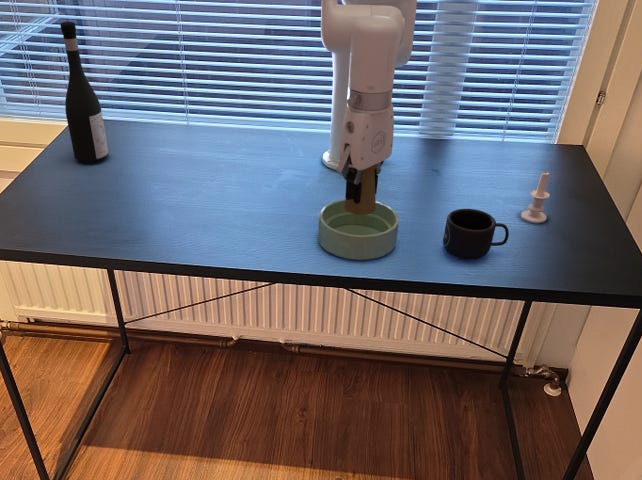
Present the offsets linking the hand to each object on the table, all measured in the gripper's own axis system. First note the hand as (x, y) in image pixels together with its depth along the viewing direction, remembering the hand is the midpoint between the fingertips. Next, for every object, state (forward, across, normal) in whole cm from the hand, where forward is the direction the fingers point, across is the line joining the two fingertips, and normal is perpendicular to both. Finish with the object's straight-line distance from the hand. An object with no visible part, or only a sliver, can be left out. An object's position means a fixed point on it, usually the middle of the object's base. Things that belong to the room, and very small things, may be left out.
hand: (360, 196), depth 125 cm
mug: (+10, +13, -18) cm, 25 cm away
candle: (+10, +34, -20) cm, 41 cm away
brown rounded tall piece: (+2, 0, 0) cm, 2 cm away
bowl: (+10, 0, 0) cm, 10 cm away
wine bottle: (+10, -15, +70) cm, 73 cm away
